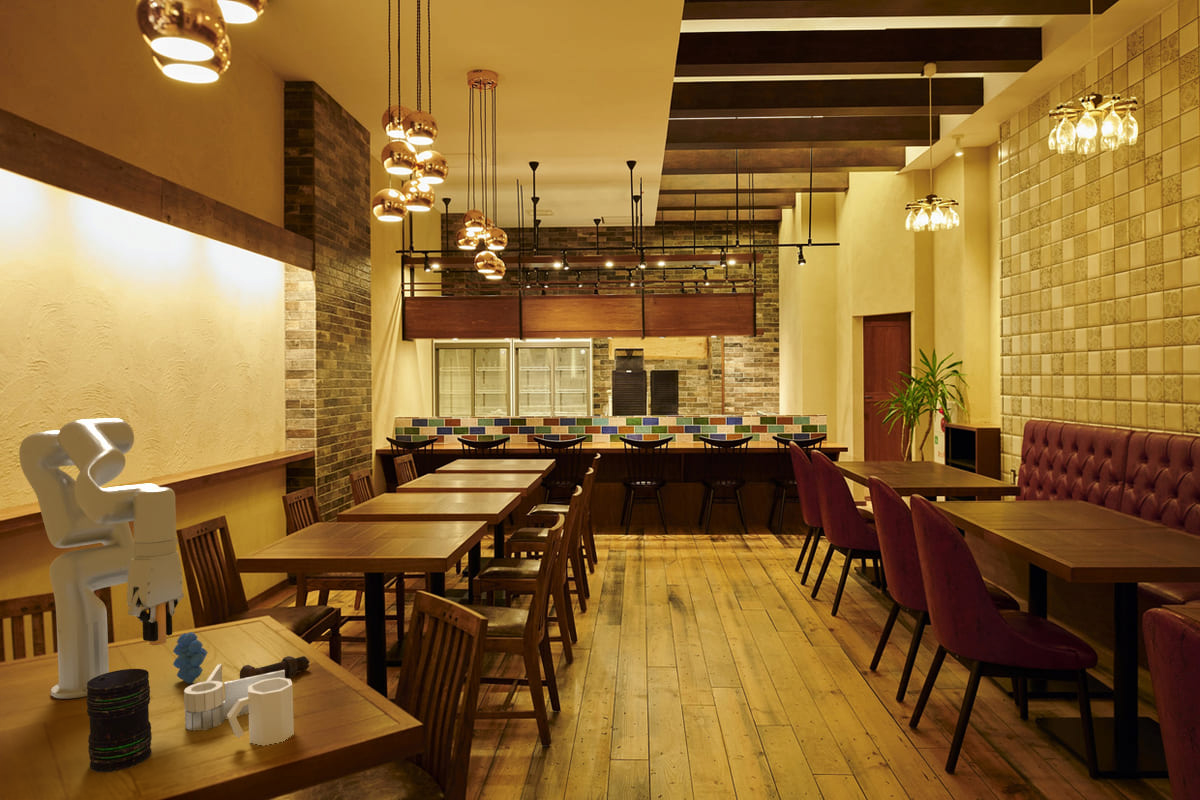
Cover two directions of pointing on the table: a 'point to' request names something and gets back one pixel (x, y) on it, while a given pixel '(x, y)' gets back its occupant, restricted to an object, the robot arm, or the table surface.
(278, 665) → the bolt
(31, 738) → the table surface
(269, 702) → the mug
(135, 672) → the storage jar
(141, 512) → the robot arm
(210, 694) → the hinge leaf cream
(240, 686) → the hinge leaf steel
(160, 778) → the table surface
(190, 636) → the grapes
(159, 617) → the hinge pin
